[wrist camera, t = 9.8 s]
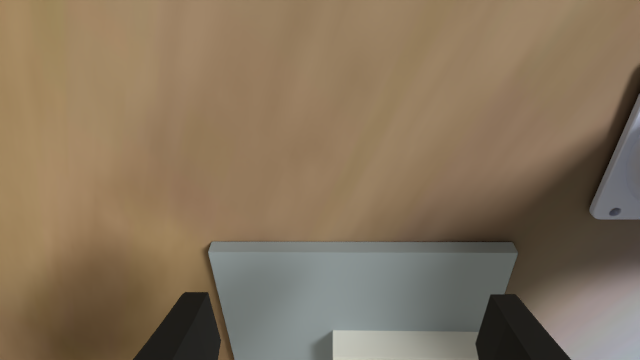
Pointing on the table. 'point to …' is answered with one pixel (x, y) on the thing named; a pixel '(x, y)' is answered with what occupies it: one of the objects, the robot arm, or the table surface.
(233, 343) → the outlet plate
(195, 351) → the robot arm
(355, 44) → the table surface
